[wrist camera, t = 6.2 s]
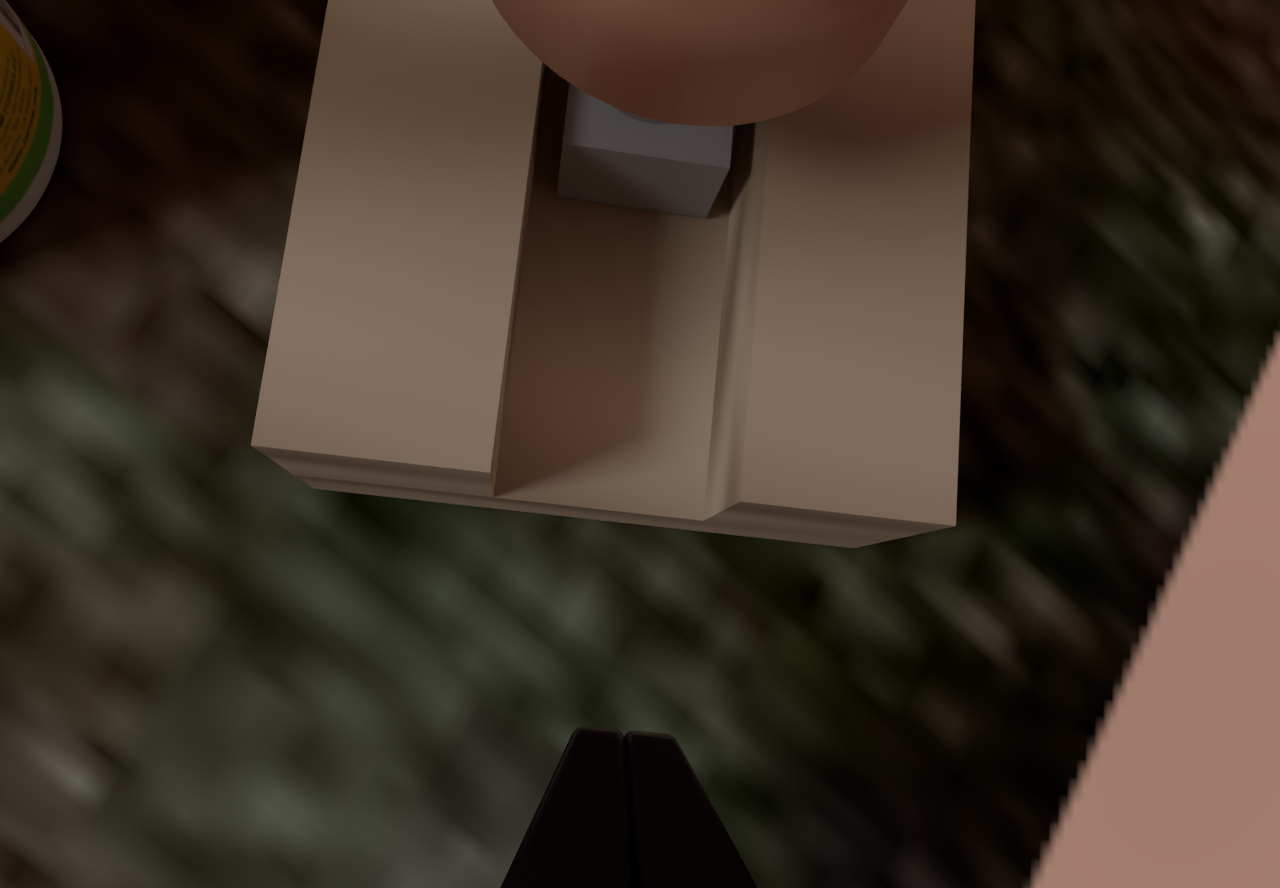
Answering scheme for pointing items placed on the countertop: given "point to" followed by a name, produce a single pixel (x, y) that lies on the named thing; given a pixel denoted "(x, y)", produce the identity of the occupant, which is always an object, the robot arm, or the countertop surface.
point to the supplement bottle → (25, 122)
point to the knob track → (624, 294)
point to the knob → (685, 83)
